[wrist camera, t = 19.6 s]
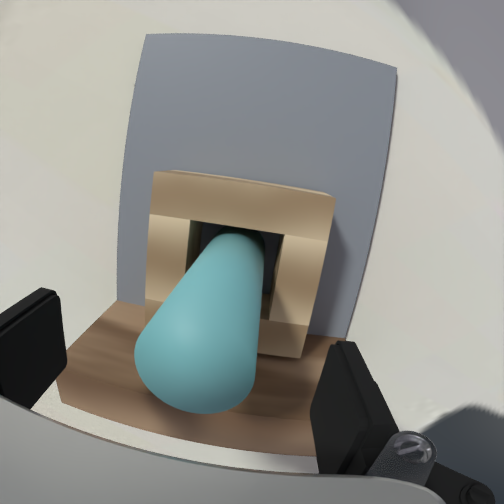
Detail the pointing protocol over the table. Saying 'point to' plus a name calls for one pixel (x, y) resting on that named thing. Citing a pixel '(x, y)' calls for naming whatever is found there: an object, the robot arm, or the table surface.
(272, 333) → the oak block
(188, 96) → the slate base
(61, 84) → the table surface
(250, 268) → the dowel
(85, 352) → the walnut wall
